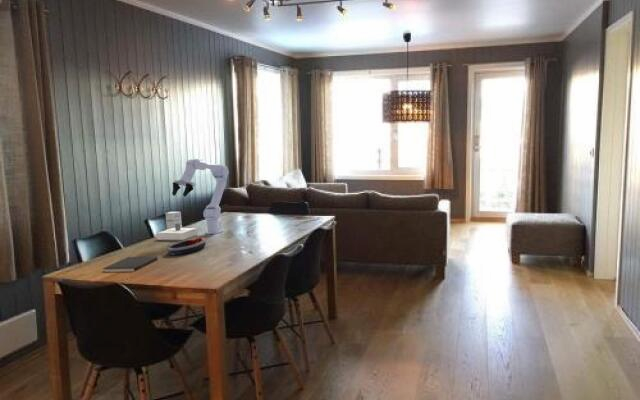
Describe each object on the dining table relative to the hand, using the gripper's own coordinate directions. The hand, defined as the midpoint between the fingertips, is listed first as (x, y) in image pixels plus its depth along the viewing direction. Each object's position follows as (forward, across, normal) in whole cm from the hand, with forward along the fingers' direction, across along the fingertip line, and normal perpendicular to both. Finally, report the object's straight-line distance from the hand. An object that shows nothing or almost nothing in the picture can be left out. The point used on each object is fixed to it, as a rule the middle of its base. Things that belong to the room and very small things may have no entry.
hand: (178, 195), depth 315 cm
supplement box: (+2, -28, +45) cm, 53 cm away
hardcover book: (+57, +15, -26) cm, 65 cm away
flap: (+9, -10, +27) cm, 30 cm away
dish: (+33, +22, +1) cm, 40 cm away
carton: (+15, -9, +26) cm, 32 cm away
